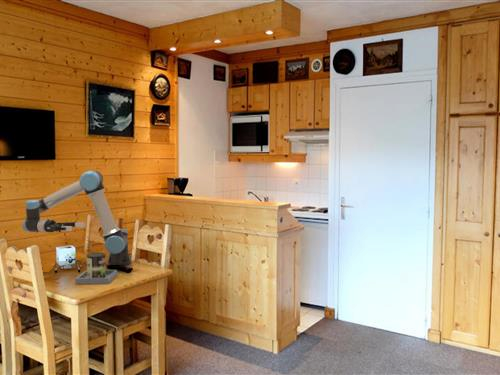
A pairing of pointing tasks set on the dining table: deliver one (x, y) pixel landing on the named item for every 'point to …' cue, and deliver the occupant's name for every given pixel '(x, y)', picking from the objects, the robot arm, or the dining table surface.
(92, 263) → the coffee can
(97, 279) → the tray
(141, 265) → the dining table surface
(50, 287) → the dining table surface
